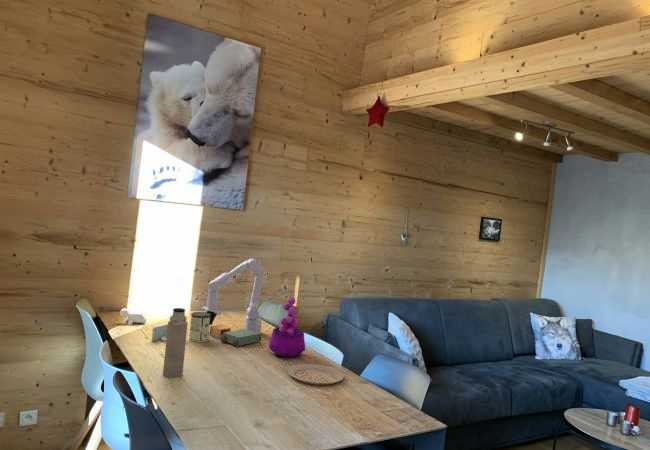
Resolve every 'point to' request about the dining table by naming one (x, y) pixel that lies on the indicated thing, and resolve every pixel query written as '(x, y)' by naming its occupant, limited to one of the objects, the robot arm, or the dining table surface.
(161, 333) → the right angle wall
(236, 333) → the grey-green flat box
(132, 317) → the white lumpy figure
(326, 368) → the plate
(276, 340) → the decorative plant
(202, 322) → the coffee can
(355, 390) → the dining table surface
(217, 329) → the orange and grey block
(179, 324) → the thermos bottle
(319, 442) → the dining table surface
